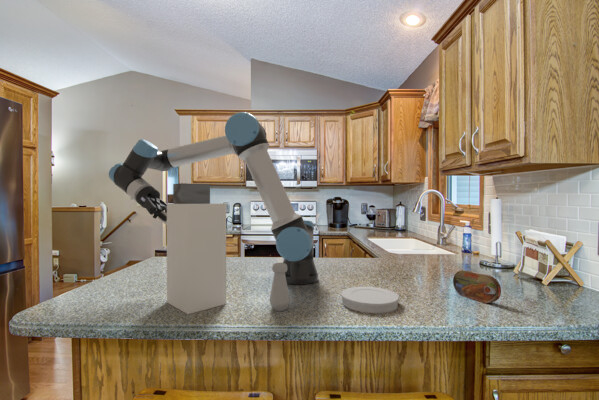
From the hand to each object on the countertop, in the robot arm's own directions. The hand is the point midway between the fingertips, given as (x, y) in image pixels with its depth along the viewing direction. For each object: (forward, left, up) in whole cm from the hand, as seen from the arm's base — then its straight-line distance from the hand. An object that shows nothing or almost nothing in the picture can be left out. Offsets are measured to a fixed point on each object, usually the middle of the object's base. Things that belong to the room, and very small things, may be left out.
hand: (186, 228), depth 106 cm
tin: (-93, +15, -22) cm, 97 cm away
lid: (-58, +15, -22) cm, 64 cm away
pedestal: (-6, +12, -21) cm, 25 cm away
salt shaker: (-31, +19, -22) cm, 43 cm away
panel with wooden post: (-1, +5, +9) cm, 10 cm away
